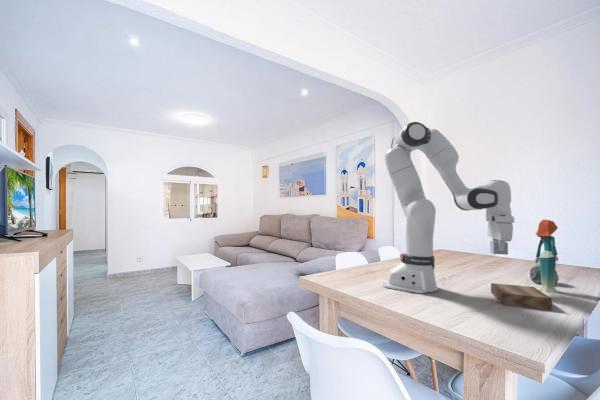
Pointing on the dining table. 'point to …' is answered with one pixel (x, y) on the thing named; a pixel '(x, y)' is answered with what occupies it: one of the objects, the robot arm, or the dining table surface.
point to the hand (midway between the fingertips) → (498, 249)
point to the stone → (539, 274)
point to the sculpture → (547, 255)
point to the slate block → (495, 250)
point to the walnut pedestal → (521, 296)
